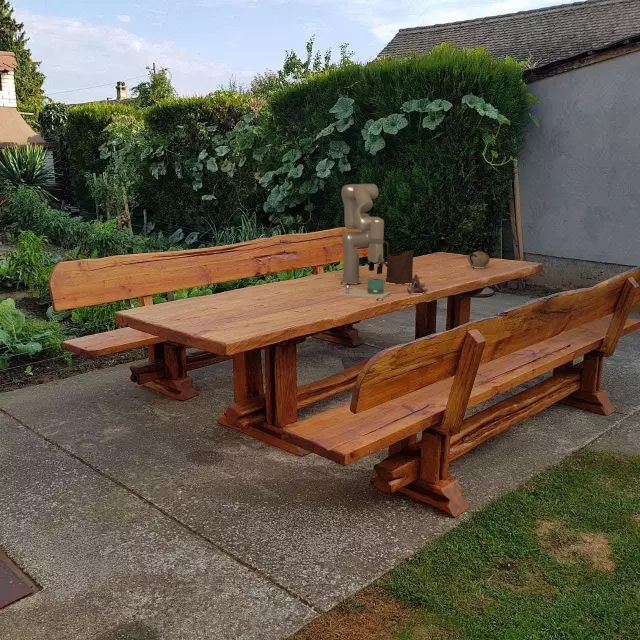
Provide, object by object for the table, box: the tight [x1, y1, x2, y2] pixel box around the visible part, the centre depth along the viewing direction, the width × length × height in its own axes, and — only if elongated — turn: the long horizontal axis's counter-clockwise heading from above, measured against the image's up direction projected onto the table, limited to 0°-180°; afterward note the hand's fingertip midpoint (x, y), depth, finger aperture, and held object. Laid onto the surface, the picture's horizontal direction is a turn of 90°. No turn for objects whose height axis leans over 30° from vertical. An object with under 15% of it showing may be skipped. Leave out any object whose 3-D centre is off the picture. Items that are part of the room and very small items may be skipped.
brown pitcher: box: [383, 240, 414, 284], centre depth 417 cm, size 18×24×25 cm
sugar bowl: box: [467, 246, 491, 268], centre depth 478 cm, size 20×15×15 cm
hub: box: [366, 288, 385, 294], centre depth 375 cm, size 9×9×6 cm
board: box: [335, 288, 393, 300], centre depth 375 cm, size 19×27×2 cm
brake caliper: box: [406, 273, 429, 294], centre depth 383 cm, size 11×11×12 cm
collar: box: [367, 277, 385, 291], centre depth 375 cm, size 6×6×6 cm
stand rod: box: [345, 284, 350, 294], centre depth 374 cm, size 2×2×4 cm
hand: (375, 272), depth 374 cm, fingers open, 9 cm apart
